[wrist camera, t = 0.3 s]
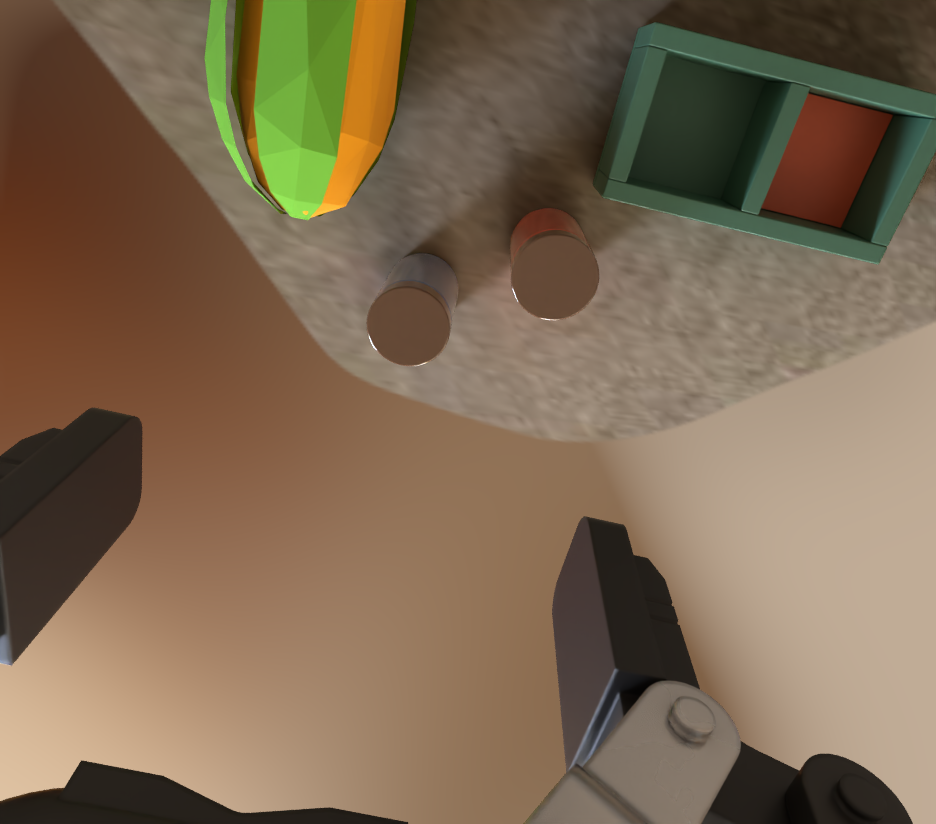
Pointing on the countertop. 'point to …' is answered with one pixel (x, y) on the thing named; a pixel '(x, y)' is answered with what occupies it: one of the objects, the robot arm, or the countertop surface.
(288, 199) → the corn
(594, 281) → the red pot
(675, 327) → the countertop surface
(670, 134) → the caddy
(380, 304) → the blue and brown cylinder
